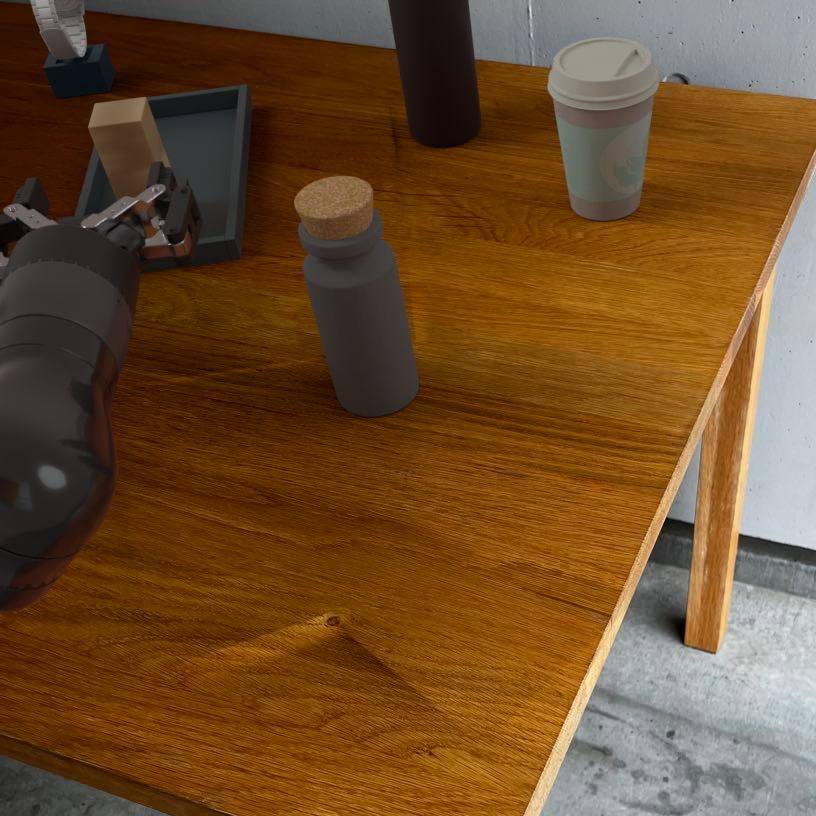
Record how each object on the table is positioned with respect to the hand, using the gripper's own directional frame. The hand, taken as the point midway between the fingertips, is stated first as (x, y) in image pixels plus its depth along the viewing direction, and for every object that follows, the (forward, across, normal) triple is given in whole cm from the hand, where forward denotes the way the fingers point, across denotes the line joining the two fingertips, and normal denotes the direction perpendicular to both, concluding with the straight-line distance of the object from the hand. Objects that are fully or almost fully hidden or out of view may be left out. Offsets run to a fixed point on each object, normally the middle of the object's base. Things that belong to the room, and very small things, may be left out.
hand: (100, 181), depth 74 cm
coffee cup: (+6, -37, +11) cm, 39 cm away
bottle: (-14, -17, +11) cm, 24 cm away
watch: (+42, +11, +11) cm, 45 cm away
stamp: (+10, 0, +10) cm, 15 cm away
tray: (+18, 0, +11) cm, 21 cm away
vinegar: (+22, -25, +11) cm, 35 cm away
